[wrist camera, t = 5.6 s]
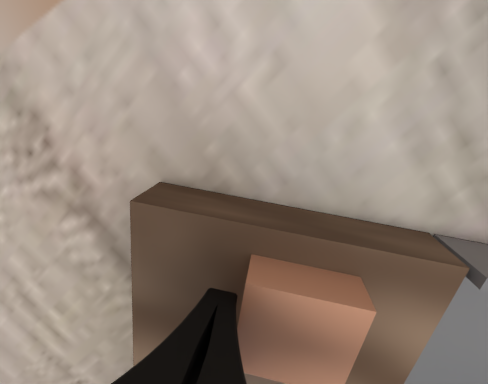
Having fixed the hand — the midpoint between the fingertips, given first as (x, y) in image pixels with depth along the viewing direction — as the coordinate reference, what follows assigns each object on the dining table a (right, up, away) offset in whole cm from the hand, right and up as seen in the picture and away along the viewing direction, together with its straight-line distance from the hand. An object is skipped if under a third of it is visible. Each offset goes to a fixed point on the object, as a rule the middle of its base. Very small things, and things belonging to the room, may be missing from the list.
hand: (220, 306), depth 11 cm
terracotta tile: (+4, 0, +1) cm, 4 cm away
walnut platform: (+2, -2, +5) cm, 6 cm away
